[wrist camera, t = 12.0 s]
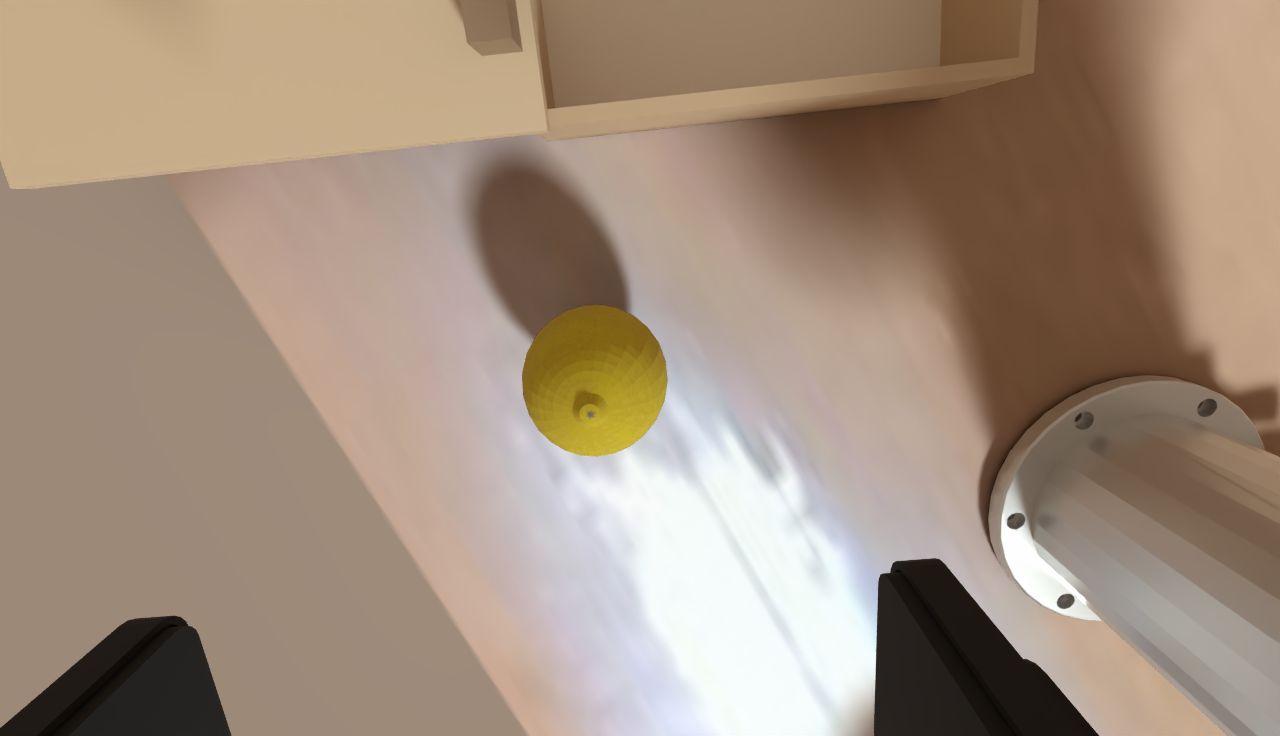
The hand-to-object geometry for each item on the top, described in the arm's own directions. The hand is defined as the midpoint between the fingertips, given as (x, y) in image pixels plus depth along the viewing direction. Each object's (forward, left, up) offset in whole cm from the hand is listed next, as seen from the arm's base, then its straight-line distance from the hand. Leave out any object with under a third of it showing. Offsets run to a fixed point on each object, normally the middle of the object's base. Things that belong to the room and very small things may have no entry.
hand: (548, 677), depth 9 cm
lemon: (0, +1, -20) cm, 20 cm away
